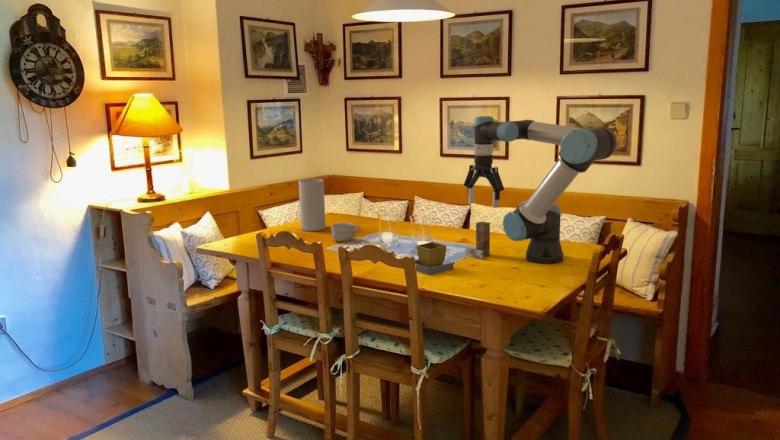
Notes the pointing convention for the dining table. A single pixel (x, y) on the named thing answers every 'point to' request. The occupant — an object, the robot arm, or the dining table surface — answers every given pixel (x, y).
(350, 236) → the teacup
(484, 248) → the upright post on base
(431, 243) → the flower pot
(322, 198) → the cylinder vase
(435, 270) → the tray
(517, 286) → the dining table surface
